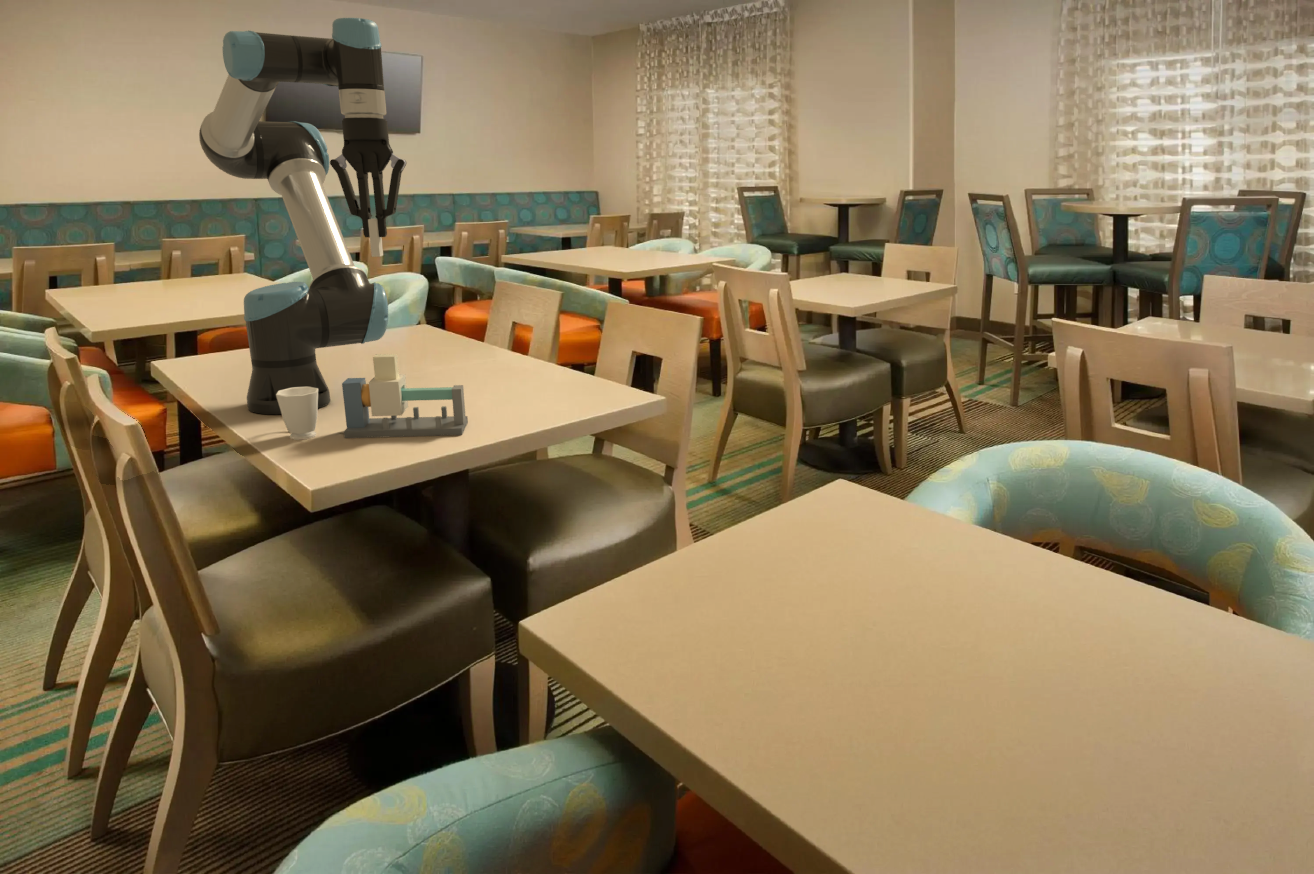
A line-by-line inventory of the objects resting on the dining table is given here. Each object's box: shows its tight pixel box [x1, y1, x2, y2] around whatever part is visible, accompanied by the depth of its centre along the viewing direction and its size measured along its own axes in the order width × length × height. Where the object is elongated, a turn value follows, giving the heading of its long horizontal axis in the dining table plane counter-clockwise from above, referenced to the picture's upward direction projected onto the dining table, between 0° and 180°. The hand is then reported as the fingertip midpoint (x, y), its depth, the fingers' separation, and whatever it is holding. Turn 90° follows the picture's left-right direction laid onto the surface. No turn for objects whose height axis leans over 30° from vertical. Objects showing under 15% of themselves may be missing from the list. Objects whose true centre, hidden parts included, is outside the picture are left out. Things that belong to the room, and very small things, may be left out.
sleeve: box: [368, 353, 409, 417], centre depth 153 cm, size 5×6×10 cm
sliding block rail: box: [341, 377, 469, 439], centre depth 154 cm, size 20×8×9 cm, turn 95°
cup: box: [276, 387, 319, 441], centre depth 152 cm, size 7×10×8 cm
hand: (377, 255), depth 158 cm, fingers closed
